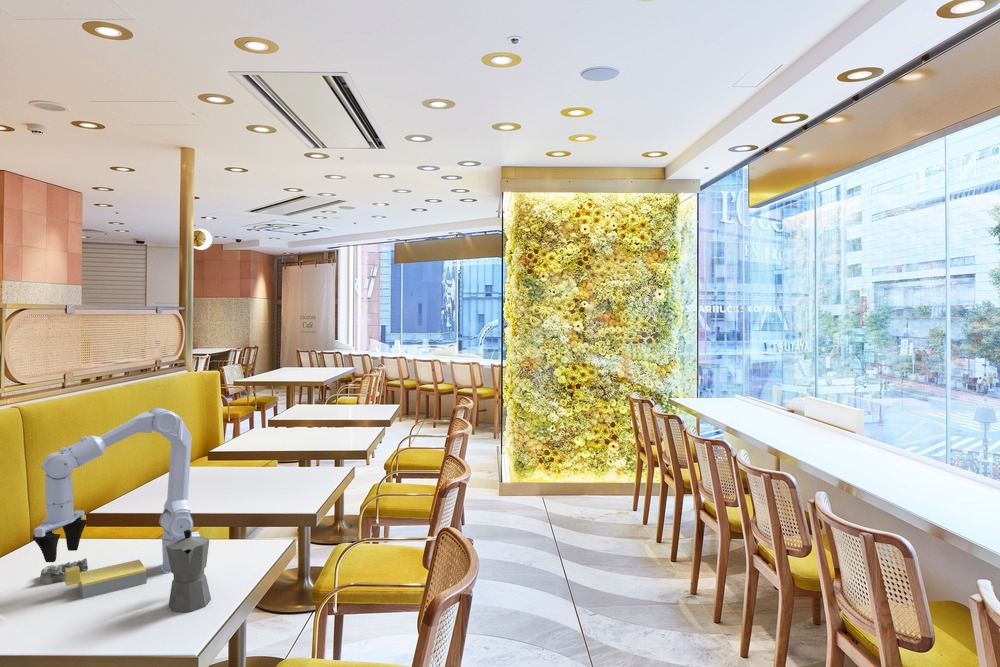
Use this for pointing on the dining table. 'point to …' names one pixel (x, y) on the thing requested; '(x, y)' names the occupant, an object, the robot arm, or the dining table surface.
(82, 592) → the tub
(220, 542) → the dining table surface
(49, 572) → the egg carton
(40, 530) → the robot arm
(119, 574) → the lid
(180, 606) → the coffeepot
